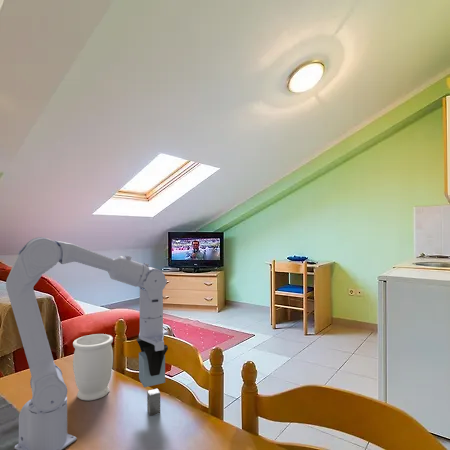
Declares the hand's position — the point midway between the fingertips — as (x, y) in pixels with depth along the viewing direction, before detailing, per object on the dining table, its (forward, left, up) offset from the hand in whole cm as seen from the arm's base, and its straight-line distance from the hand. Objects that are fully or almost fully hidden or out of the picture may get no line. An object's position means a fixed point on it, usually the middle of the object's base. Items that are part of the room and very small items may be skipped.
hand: (151, 370), depth 83 cm
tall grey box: (0, 0, -3) cm, 3 cm away
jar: (-21, 0, -11) cm, 23 cm away
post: (0, 0, -11) cm, 11 cm away
